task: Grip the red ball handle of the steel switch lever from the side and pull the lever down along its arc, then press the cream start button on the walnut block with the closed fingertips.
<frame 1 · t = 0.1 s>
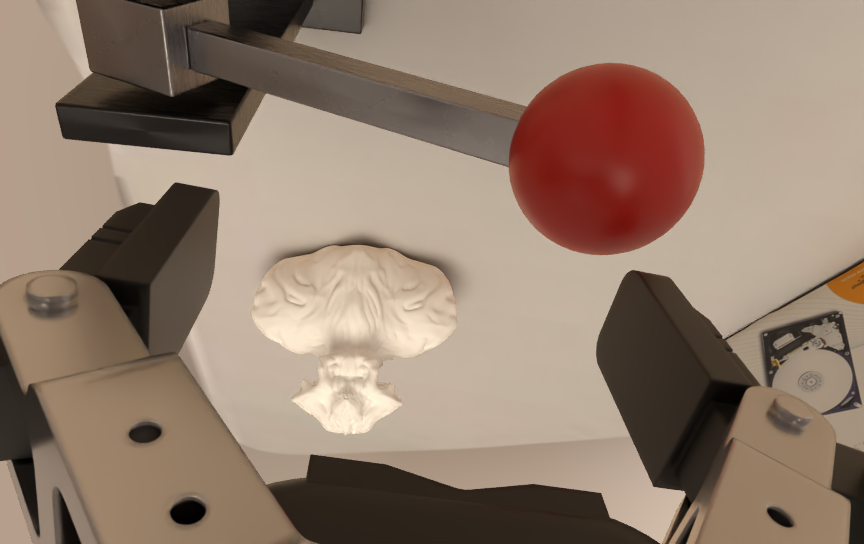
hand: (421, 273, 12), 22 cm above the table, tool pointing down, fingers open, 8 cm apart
bust: (360, 280, 41), on the table
hard drive box: (837, 314, 43), on the table
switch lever: (368, 93, 15), point 18 cm above the table, hinge at 25.0°
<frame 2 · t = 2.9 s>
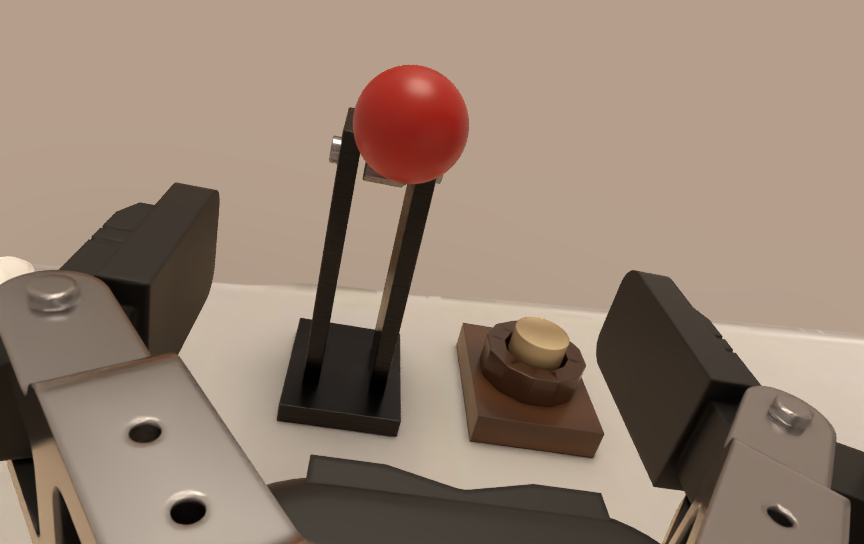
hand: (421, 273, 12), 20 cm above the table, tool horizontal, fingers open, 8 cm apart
start button: (538, 343, 41), point 4 cm above the table, slide at 0.1 cm
button block: (519, 396, 43), on the table
switch bracket: (343, 379, 41), on the table
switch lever: (397, 145, 28), point 18 cm above the table, hinge at 25.0°
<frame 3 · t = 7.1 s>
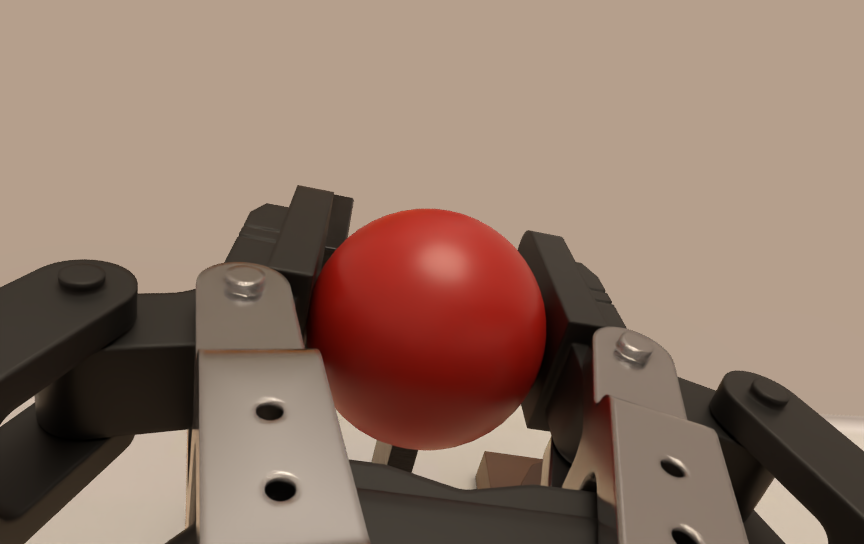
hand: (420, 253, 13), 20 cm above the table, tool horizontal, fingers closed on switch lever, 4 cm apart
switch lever: (398, 293, 16), point 18 cm above the table, hinge at 25.0°, touching gripper
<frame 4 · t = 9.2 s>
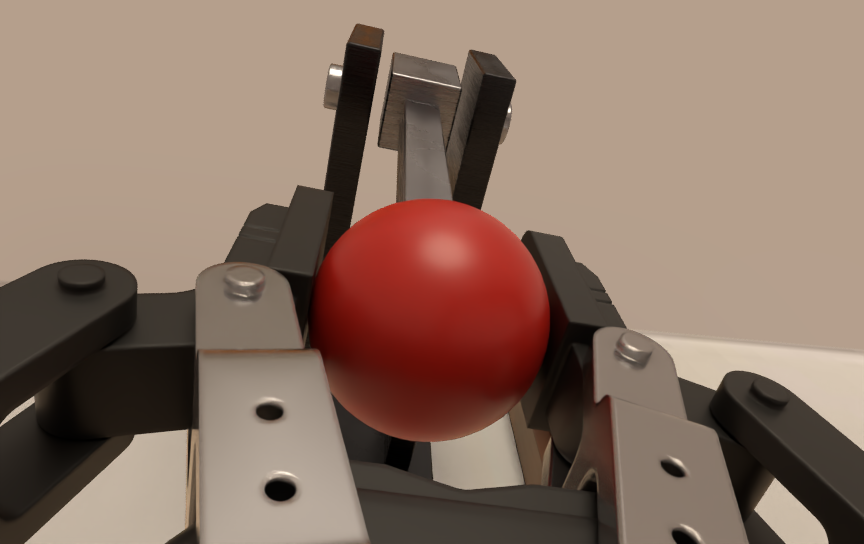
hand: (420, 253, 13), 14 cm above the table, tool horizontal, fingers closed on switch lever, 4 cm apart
button block: (598, 464, 30), on the table
switch bracket: (345, 445, 28), on the table
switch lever: (422, 182, 15), point 15 cm above the table, hinge at -3.8°, touching gripper
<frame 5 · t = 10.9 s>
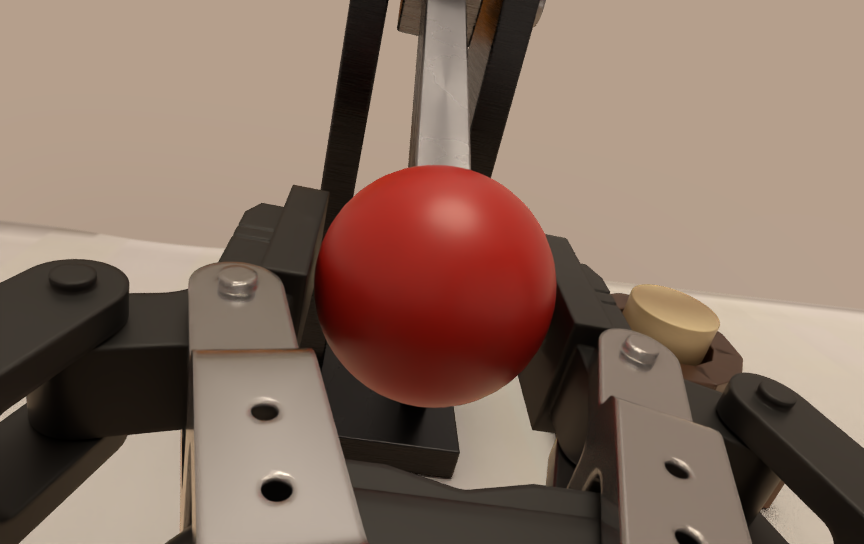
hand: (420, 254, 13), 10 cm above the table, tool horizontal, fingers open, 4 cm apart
start button: (667, 324, 26), point 4 cm above the table, slide at 0.1 cm
button block: (628, 409, 28), on the table
switch bracket: (357, 383, 25), on the table
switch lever: (440, 97, 14), point 13 cm above the table, hinge at -20.7°
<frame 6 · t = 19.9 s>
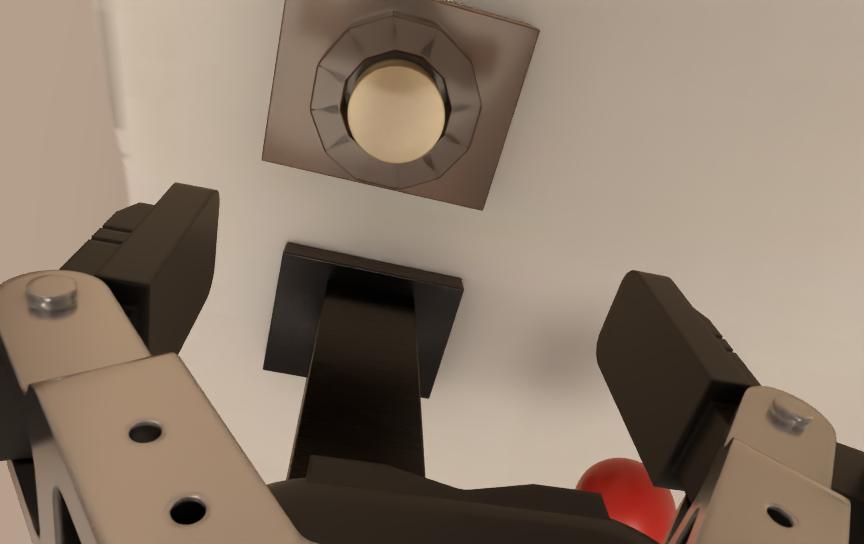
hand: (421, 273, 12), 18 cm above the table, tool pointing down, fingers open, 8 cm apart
start button: (396, 111, 24), point 4 cm above the table, slide at 0.1 cm
button block: (395, 88, 28), on the table
switch bracket: (362, 318, 33), on the table
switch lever: (506, 532, 23), point 13 cm above the table, hinge at -20.7°
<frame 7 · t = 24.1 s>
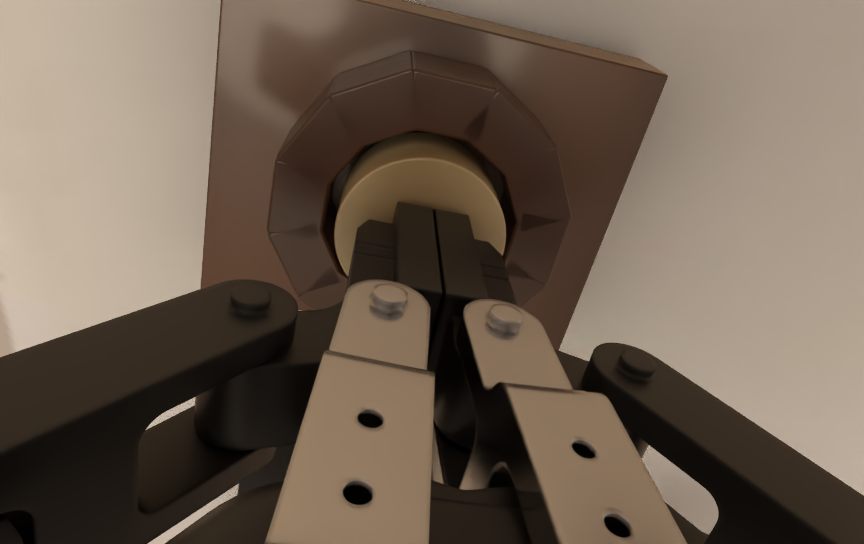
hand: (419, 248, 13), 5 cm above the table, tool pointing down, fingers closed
start button: (419, 223, 14), point 4 cm above the table, slide at -0.6 cm, touching gripper
button block: (416, 165, 17), on the table
switch bracket: (371, 479, 23), on the table
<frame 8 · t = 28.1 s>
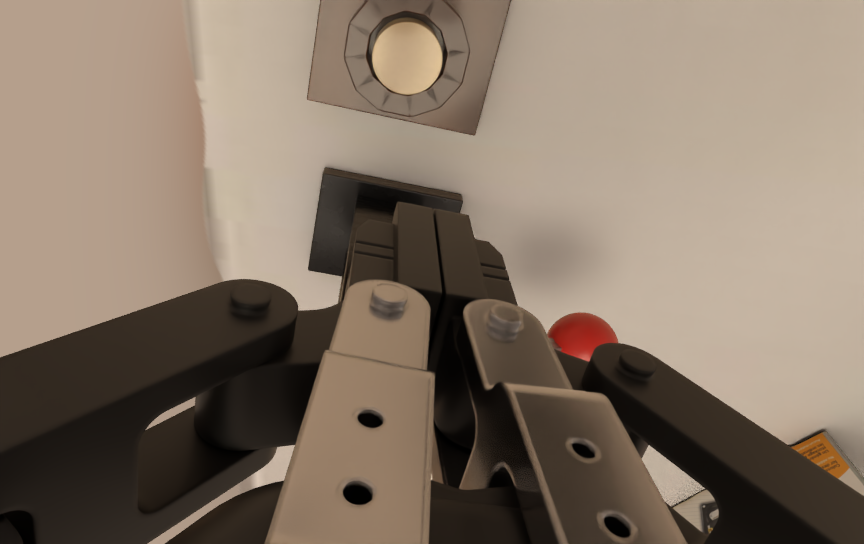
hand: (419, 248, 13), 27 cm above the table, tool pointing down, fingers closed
start button: (407, 56, 33), point 4 cm above the table, slide at 0.1 cm
hard drive box: (755, 491, 57), on the table
button block: (406, 42, 37), on the table
switch bracket: (384, 229, 43), on the table
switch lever: (492, 355, 32), point 13 cm above the table, hinge at -20.7°
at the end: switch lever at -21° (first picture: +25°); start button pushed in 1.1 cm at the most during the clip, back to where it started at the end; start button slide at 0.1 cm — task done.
